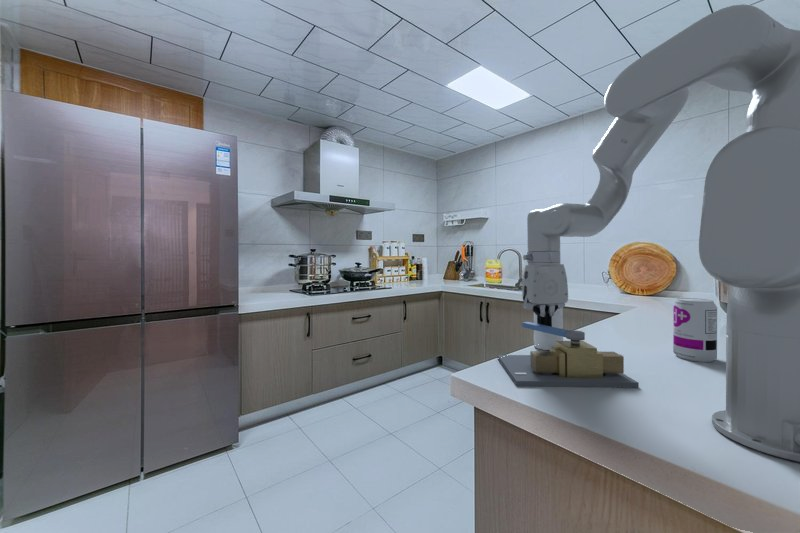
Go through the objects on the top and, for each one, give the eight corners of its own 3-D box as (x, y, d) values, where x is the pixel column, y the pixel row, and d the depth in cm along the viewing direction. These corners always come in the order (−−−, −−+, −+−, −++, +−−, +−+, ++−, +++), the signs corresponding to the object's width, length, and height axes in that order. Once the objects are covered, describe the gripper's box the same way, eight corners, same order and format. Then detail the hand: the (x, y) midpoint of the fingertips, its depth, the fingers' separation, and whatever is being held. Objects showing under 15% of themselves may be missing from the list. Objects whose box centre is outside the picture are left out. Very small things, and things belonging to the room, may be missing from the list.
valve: (627, 383, 66) (627, 343, 66) (537, 382, 68) (537, 343, 68) (610, 373, 72) (610, 336, 72) (529, 372, 74) (528, 336, 74)
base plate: (638, 387, 64) (638, 381, 64) (516, 385, 66) (516, 380, 66) (592, 359, 82) (592, 354, 82) (497, 358, 84) (497, 354, 84)
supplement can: (684, 361, 79) (684, 301, 79) (667, 352, 87) (667, 297, 87) (725, 364, 77) (725, 302, 77) (703, 354, 85) (704, 298, 84)
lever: (588, 339, 69) (588, 332, 69) (577, 341, 68) (577, 334, 68) (530, 325, 83) (530, 320, 83) (519, 327, 82) (519, 322, 82)
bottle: (560, 344, 96) (560, 245, 96) (566, 352, 89) (565, 244, 88) (532, 343, 99) (531, 246, 98) (535, 350, 91) (534, 245, 91)
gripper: (523, 259, 76) (524, 336, 76) (581, 258, 78) (581, 333, 78) (508, 259, 83) (509, 329, 83) (561, 258, 85) (562, 326, 85)
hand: (544, 331), depth 81 cm, fingers closed
